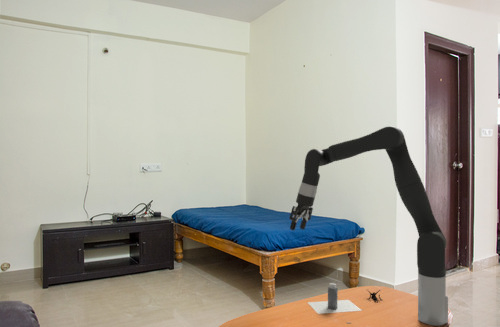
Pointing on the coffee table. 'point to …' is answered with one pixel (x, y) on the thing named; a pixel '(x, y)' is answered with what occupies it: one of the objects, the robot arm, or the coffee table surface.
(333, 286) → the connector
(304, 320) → the coffee table surface
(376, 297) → the creature
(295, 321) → the coffee table surface
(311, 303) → the dock plate
